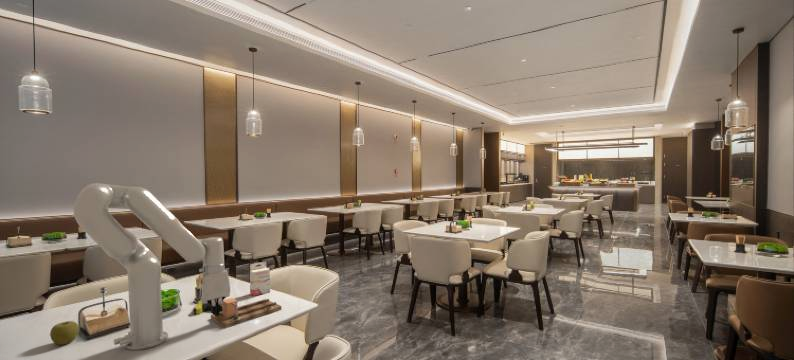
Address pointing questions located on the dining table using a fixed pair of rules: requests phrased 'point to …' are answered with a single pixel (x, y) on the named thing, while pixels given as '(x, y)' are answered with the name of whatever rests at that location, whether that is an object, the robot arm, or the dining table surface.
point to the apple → (64, 332)
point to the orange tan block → (229, 307)
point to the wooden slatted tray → (247, 313)
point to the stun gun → (203, 307)
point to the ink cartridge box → (259, 279)
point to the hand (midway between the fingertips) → (216, 314)
